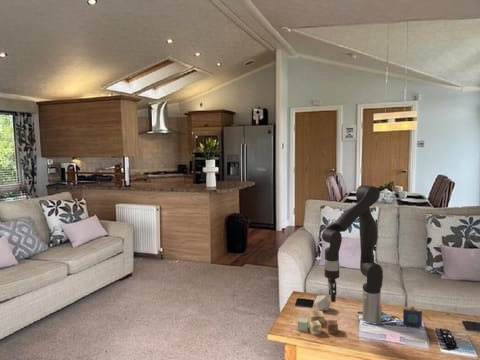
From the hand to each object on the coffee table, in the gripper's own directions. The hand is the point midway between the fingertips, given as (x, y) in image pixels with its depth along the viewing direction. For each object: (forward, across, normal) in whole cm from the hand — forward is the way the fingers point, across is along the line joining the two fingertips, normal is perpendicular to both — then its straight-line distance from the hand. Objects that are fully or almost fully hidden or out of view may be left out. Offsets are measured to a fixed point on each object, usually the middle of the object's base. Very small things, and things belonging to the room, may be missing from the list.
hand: (332, 298), depth 189 cm
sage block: (+18, +2, +15) cm, 24 cm away
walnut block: (+18, 0, 0) cm, 18 cm away
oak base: (+18, +10, +7) cm, 22 cm away
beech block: (+18, -1, +9) cm, 20 cm away
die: (+18, +26, +2) cm, 32 cm away
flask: (+18, +8, -43) cm, 48 cm away
